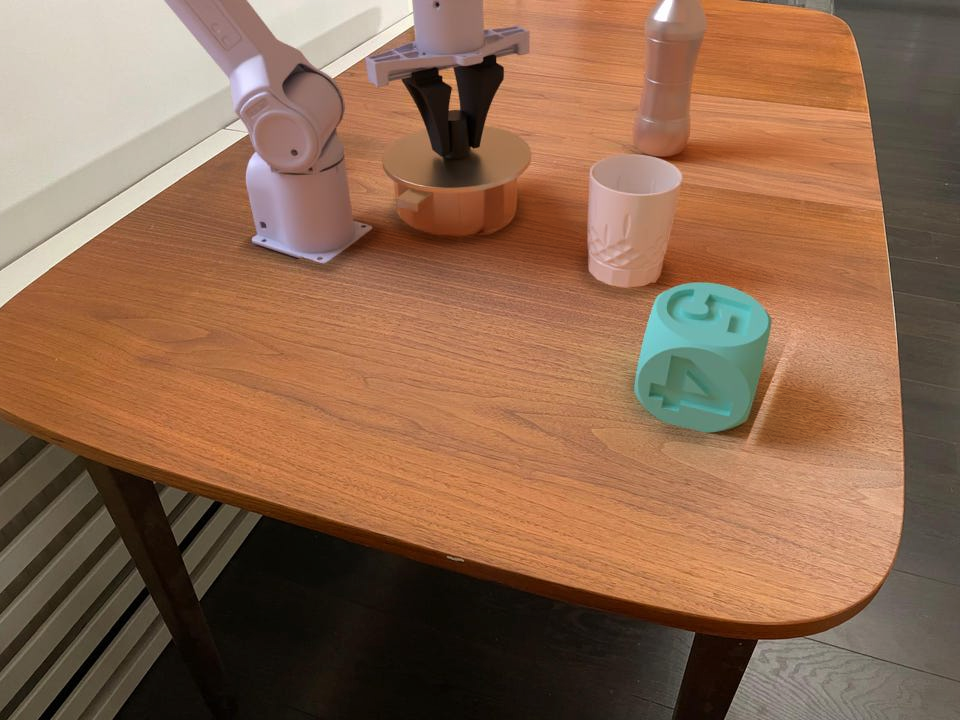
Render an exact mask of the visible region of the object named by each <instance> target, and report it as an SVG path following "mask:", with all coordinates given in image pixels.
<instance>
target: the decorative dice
mask: <svg viewBox="0 0 960 720" xmlns="http://www.w3.org/2000/svg"><path fill="white" fill-rule="evenodd" d="M772 320H773V319H772V317H771V315H770V314H769V313H768V311H767V310H766V309H765V307H764V306H763V305H762V304H761V303H760V302H759V301H757V300H756V299H755V298H754V297H752V296H751V295H749V294H748V293H746V292H744V291H742V290H739V289H737V288H734V287H732V286H728V285H725V284H719V283H713V282H698V281H697V282H687V283H682V284H679V285H675V286H673V287H671V288H669V289H666V290H664V291H663V292H661V293H660V294H658V295H657V296H656V297H655V300H654V302H653V305H652V308H651V311H650V314H649V317H648V320H647V325H646V328H645V331H644V334H643V339H642V344H641V348H640V351H639V352H640V353H639V357H638V361H637V365H636V366H637V367H636V373H635V379H634V387H633V388H634V390H633V393H634V395H635V397H636V398H637V401H639V403H640V404H641V405H642V406H643V408H645V410H647V412H648V413H650V414H651V415H652V416H653V417H654V418H656V419H657V420H659V421H660V422H662V423H665V424H669V425H673V426H677V427H681V428H686V429H689V430H694V431H697V432H702V433H718V432H723V431H726V430H730V429H733V428H735V427H736V428H737V427H738V426H740V425H742V424H744V423H746V422H747V420H748V418H749V416H750V413H751V410H752V407H753V403H754V400H755V396H756V393H757V389H758V386H759V381H760V377H761V374H762V369H763V367H764V366H763V365H764V361H765V357H766V353H767V348H768V345H769V339H770V334H771V329H772V322H773V321H772Z"/></svg>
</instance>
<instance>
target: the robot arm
mask: <svg viewBox="0 0 960 720" xmlns="http://www.w3.org/2000/svg"><path fill="white" fill-rule="evenodd" d="M163 1H164V3H165V4H166V5H167V6H168V7H169V8H170V9H171V11H172V12H173V13H174V15H176V17H177V18H178V19H179V21H180V22H181V23H182V24H183V25H184V26H185V28H186V29H187V30H188V31H189V32H190V34H191V35H192V36H193V37H194V38H195V40H196V41H197V42H198V43H199V45H200V46H201V47H202V48H203V49H204V51H205V52H206V53H207V54H208V55H209V56H210V58H211V59H212V60H213V61H214V63H215V64H216V65H217V66H218V68H220V70H221V71H222V72H223V74H224V75H225V76H226V77H227V78H228V80H229V84H230V94H231V102H232V107H233V112H234V113H235V114H236V116H237V117H238V118H239V119H240V121H241V122H242V123H243V125H244V126H245V128H246V130H247V132H248V136H249V138H250V142H251V145H252V147H253V149H254V153H253V154H252V155H251V157H250V158H249V161H248V164H247V167H246V171H245V186H246V190H247V195H248V199H249V204H250V208H251V211H252V217H253V222H254V225H255V230H256V234H255V235H254V236H253V237H252V238H251V243H253V244H254V245H257V246H261V247H264V248H266V249H269V250H273V251H275V252H279V253H282V254H285V255H287V256H291V257H294V258H298V259H301V258H305V259H308V260H311V261H314V262H317V263H320V264H326V263H328V262H330V261H331V260H333V259H335V258H336V257H337V256H338V255H339V254H341V253H342V252H343V251H345V250H346V249H348V248H349V247H350V246H352V244H354V243H356V242H357V241H358V240H359V239H361V238H362V237H363V236H365V235H366V234H367V233H369V232H370V231H371V230H372V229H373V226H372V225H370V224H366V223H362V222H359V221H356V220H354V218H353V217H354V216H353V209H352V202H351V201H352V200H351V194H350V185H349V177H348V169H347V164H346V163H347V162H346V154H345V147H344V145H343V143H342V141H341V139H340V137H339V135H338V131H337V127H338V126H339V125H340V124H341V122H342V121H343V119H344V115H345V111H346V101H345V97H344V96H345V95H344V94H343V91H342V89H341V88H340V86H339V84H338V83H337V82H336V80H334V79H333V77H332V76H330V75H329V74H328V73H325V72H324V71H323V70H320V69H319V68H317V67H315V66H314V65H313V64H312V63H311V62H310V61H309V60H308V59H307V57H305V55H304V54H303V53H302V51H301V50H299V49H298V48H295V47H294V46H292V45H289V44H288V43H285V42H283V41H281V40H279V39H278V38H277V37H276V36H275V35H274V33H273V32H272V31H271V29H270V28H269V27H268V26H267V24H266V23H265V22H264V20H263V19H262V18H261V16H260V15H259V13H258V12H257V11H256V10H255V9H254V8H253V6H252V5H251V3H250V2H249V1H248V0H163ZM411 4H412V5H411V6H412V16H413V29H414V39H415V40H412V41H410V42H408V43H405V44H402V45H400V46H399V45H398V46H397V47H394V48H391V49H389V50H386V51H383V52H380V53H377V54H373V55H368V56H365V59H364V60H365V66H366V74H367V81H368V82H370V83H371V84H372V85H373V86H375V87H376V88H383V87H387V86H389V85H390V84H389V83H390V82H394V81H399V80H401V82H402V83H403V85H404V86H405V88H406V90H407V92H408V94H409V95H410V96H411V98H412V100H413V102H414V104H415V106H416V108H417V110H418V112H419V114H420V116H421V119H422V121H423V124H424V127H425V129H427V132H428V135H429V139H430V142H431V146H432V150H433V151H434V152H436V153H437V154H438V155H440V156H441V157H445V156H449V151H450V141H449V128H448V114H449V111H450V101H451V96H452V90H453V86H451V85H450V84H448V83H446V82H445V81H444V80H443V75H441V74H440V71H445V70H448V69H453V73H454V77H455V81H456V87H457V93H458V100H459V110H462V111H466V112H467V113H468V114H469V122H470V146H471V147H472V148H473V149H475V148H478V147H480V143H481V138H482V133H483V128H484V126H485V124H486V120H487V116H488V114H489V110H490V107H491V105H492V102H493V100H494V98H495V95H496V94H497V91H498V90H499V88H500V86H501V85H502V83H503V82H504V79H505V67H504V66H503V65H501V64H500V63H497V58H502V57H507V56H511V55H517V56H524V55H528V54H530V39H531V37H530V30H528V29H526V28H524V27H522V26H519V25H513V26H507V27H497V28H486V29H485V24H484V23H485V21H484V20H485V19H484V18H485V17H484V0H411ZM364 226H365V227H364ZM320 258H322V259H320Z"/></svg>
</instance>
